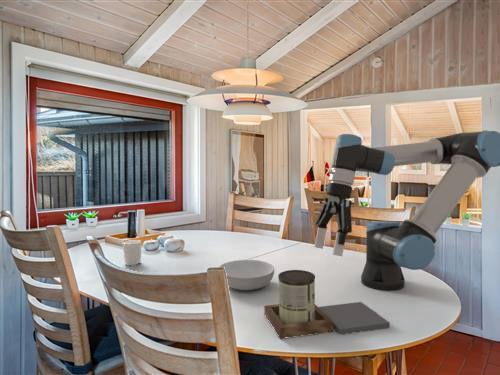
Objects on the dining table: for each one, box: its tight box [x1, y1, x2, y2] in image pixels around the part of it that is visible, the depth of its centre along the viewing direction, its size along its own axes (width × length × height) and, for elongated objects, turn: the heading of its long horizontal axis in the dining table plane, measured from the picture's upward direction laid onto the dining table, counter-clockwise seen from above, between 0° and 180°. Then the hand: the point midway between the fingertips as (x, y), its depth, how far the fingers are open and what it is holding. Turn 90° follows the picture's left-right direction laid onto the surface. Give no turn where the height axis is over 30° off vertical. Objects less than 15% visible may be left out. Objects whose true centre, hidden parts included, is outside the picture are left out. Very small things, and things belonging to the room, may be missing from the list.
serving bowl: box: [218, 259, 275, 291], centre depth 136 cm, size 21×21×7 cm
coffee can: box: [278, 269, 316, 325], centre depth 105 cm, size 10×10×14 cm
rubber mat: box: [318, 301, 390, 335], centre depth 107 cm, size 15×15×2 cm
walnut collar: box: [263, 303, 334, 339], centre depth 106 cm, size 15×15×3 cm
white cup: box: [122, 239, 142, 266], centre depth 167 cm, size 8×8×10 cm
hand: (327, 251), depth 114 cm, fingers open, 13 cm apart
